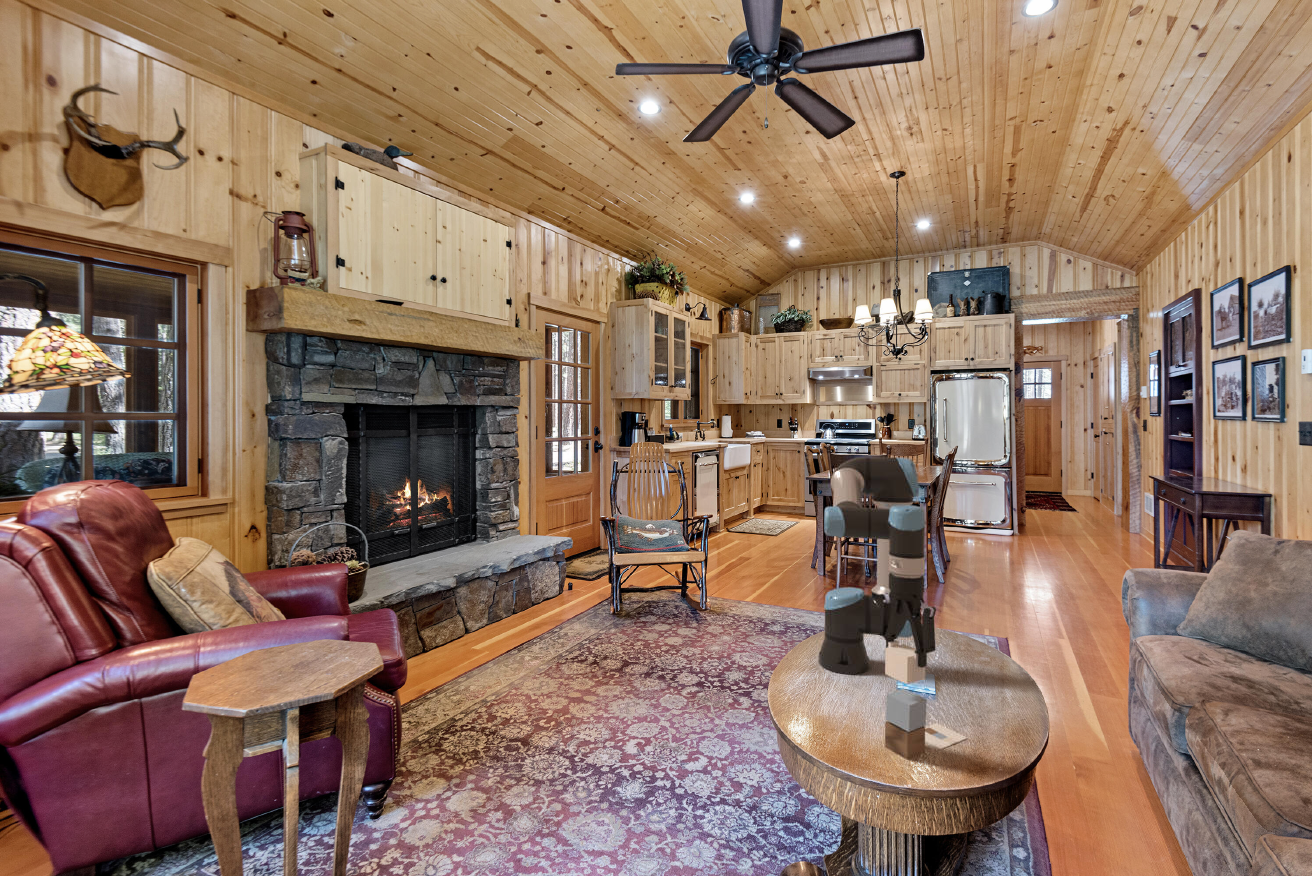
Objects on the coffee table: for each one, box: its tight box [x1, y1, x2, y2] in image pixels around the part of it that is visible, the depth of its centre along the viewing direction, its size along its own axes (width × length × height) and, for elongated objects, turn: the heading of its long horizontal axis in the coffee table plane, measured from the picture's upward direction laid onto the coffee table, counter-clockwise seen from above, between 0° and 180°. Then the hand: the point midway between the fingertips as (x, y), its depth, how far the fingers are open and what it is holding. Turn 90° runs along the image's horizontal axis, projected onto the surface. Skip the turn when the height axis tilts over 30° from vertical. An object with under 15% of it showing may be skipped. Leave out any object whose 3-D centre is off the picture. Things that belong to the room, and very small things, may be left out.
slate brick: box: [885, 688, 928, 732], centre depth 136 cm, size 6×6×6 cm
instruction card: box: [924, 722, 968, 751], centre depth 142 cm, size 8×10×1 cm
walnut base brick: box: [884, 720, 926, 760], centre depth 136 cm, size 6×6×6 cm
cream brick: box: [884, 643, 926, 685], centre depth 136 cm, size 6×6×6 cm
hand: (905, 674), depth 136 cm, fingers closed on cream brick, 6 cm apart
